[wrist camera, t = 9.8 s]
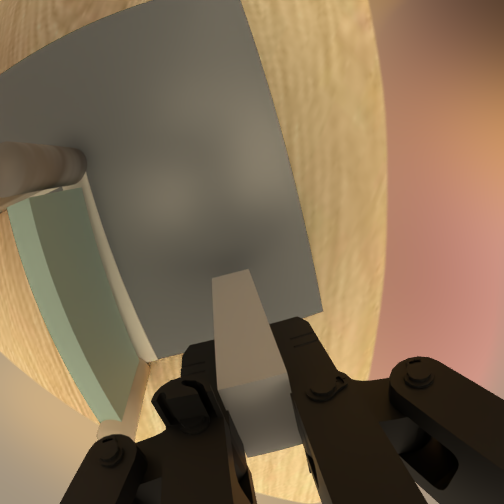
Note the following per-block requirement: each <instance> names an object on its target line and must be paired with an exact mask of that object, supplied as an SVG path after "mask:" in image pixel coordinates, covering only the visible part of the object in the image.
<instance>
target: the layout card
mask: <svg viewBox="0 0 504 504" xmlns="http://www.w3.org/2000/svg"><path fill="white" fill-rule="evenodd" d="M5 141H9V142H22V143H33V144H43V145H53V146H62V147H70V148H77V149H79V150H81V151H82V152H83V154H84V155H85V157H86V160H87V170H86V172H85V174H84V176H83V178H82V179H81V180H80V181H79V182H78V183H76V184H74V185H70V186H64V187H58V188H52V189H46V190H42V191H40V192H38V193H36V194H34V195H32V196H30V197H35V196H40V195H44V194H49V193H54V192H59V191H65V190H70V189H75V188H81V187H82V191H83V196H84V200H85V204H86V208H87V212H88V216H89V220H90V223H91V227H92V231H93V234H94V238H95V241H96V245H97V248H98V251H99V255H100V258H101V261H102V264H103V267H104V270H105V273H106V276H107V279H108V282H109V285H110V288H111V291H112V294H113V296H114V299H115V302H116V305H117V307H118V310H119V313H120V315H121V318H122V320H123V323H124V325H125V328H126V330H127V333H128V335H129V338H130V340H131V342H132V345H133V347H134V349H135V352H136V354H137V356H138V357H139V358H141V359H143V360H144V361H145V362H146V363H147V362H152V361H156V360H158V359H161V358H165V357H169V356H173V355H177V354H181V353H185V351H186V350H187V348H188V347H189V345H192V344H197V343H201V342H205V341H210V340H214V319H213V296H212V278H215V277H219V276H223V275H227V274H231V273H234V272H238V271H242V270H246V269H249V271H250V274H251V277H252V280H253V282H254V285H255V288H256V290H257V293H258V296H259V298H260V301H261V304H262V307H263V309H264V312H265V315H266V317H267V320H268V323H269V324H272V323H275V322H279V321H282V320H286V319H289V318H293V317H296V316H298V317H300V318H305V317H308V316H311V315H314V314H316V313H319V312H322V311H323V309H322V303H321V298H320V293H319V288H318V283H317V278H316V273H315V268H314V264H313V259H312V254H311V250H310V245H309V241H308V236H307V232H306V227H305V223H304V218H303V214H302V210H301V206H300V202H299V197H298V193H297V189H296V185H295V181H294V177H293V173H292V169H291V165H290V162H289V158H288V154H287V150H286V146H285V143H284V139H283V135H282V132H281V128H280V124H279V121H278V117H277V114H276V110H275V107H274V103H273V100H272V97H271V93H270V90H269V87H268V83H267V80H266V77H265V73H264V70H263V67H262V64H261V61H260V57H259V54H258V51H257V48H256V45H255V42H254V39H253V36H252V33H251V30H250V27H249V24H248V21H247V18H246V15H245V12H244V10H243V7H242V4H241V1H240V0H152V1H149V2H146V3H142V4H139V5H136V6H134V7H131V8H128V9H125V10H122V11H120V12H117V13H115V14H112V15H109V16H107V17H105V18H102V19H100V20H97V21H95V22H93V23H91V24H88V25H86V26H84V27H82V28H80V29H77V30H75V31H73V32H71V33H69V34H67V35H65V36H63V37H61V38H60V39H58V40H56V41H54V42H52V43H50V44H48V45H47V46H45V47H43V48H41V49H40V50H38V51H36V52H34V53H33V54H31V55H30V56H28V57H26V58H25V59H23V60H21V61H20V62H18V63H17V64H15V65H14V66H12V67H11V68H9V69H8V70H6V71H5V72H3V73H2V74H1V75H0V143H2V142H5ZM30 197H28V198H30Z"/></svg>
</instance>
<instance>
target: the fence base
mask: <svg viewBox="0 0 504 504" xmlns="http://www.w3.org/2000/svg"><path fill="white" fill-rule="evenodd" d="M86 170H87V160H86V157H85V155H84V154H83V152H82V151H81V150H79V149H77V148H70V147H62V146H53V145H43V144H33V143H22V142H9V141H5V142H2V143H0V213H1V212H3V211H4V210H6V209H7V207H9V206H11V205H13V204H16V203H18V202H20V201H22V200H25V199H27V198H28V197H30V196H32V195H34V194H36V193H38V192H40V191H42V190H46V189H52V188H58V187H64V186H70V185H74V184H76V183H78V182H79V181H80V180H81V179H82V178H83V176H84V174H85V172H86Z"/></svg>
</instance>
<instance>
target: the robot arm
mask: <svg viewBox="0 0 504 504" xmlns="http://www.w3.org/2000/svg"><path fill="white" fill-rule="evenodd" d="M212 296H213V319H214V340H210V341H205V342H201V343H197V344H192V345H189V347H188V348H187V350H186V351H185V353H184V354H183V356H182V368H181V377H180V378H177V379H174V380H171V381H169V382H168V383H166V384H164V385H163V386H161V387H160V388H159V389H158V390H157V391H156V392H155V394H154V396H153V398H152V400H151V402H152V404H153V406H154V407H155V409H156V411H157V413H158V414H159V416H160V417H161V419H162V421H163V422H164V424H165V426H166V430H165V431H163V432H162V433H160V434H158V435H156V436H154V437H151V438H148V439H146V440H143V441H140V442H138V443H135V442H134V441H133V440H132V439H131V438H130V437H129V436H126V435H123V434H111V435H108V436H105V437H103V438H101V439H100V440H98V441H97V442H95V443H94V445H93V446H92V447H91V448H90V449H89V451H88V453H87V455H86V456H85V458H84V460H83V462H82V463H81V466H80V467H79V469H78V471H77V473H76V474H75V476H74V478H73V480H72V482H71V483H70V485H69V487H68V489H67V491H66V493H65V495H64V497H63V498H62V500H61V502H60V504H257V501H256V496H255V491H254V485H253V480H252V474H251V472H250V470H249V468H248V466H247V463H246V457H245V453H246V455H247V457H253V456H257V455H262V454H266V453H270V452H274V451H278V450H282V449H286V448H289V447H293V446H296V445H300V444H303V446H304V448H305V452H306V457H307V462H308V467H309V471H310V473H312V476H313V479H314V481H315V484H316V487H317V490H318V493H319V496H320V499H321V502H322V504H428V503H427V502H426V500H425V498H424V496H423V495H422V493H421V491H420V490H419V488H418V486H417V485H416V483H417V484H418V485H419V486H420V487H421V488H423V489H424V490H425V491H426V492H427V493H428V494H430V496H432V497H433V498H434V499H435V500H436V501H437V502H438V503H439V504H504V400H503V399H501V398H500V397H498V396H496V395H494V394H493V393H491V392H490V391H488V390H486V389H484V388H483V387H481V386H479V385H478V384H476V383H474V382H473V381H471V380H469V379H468V378H466V377H464V376H462V375H461V374H459V373H458V372H456V371H454V370H452V369H451V368H449V367H447V366H446V365H444V364H442V363H441V362H439V361H437V360H434V359H432V358H429V357H413V358H408V359H406V360H403V361H401V362H399V363H398V364H397V365H396V366H395V367H394V368H393V369H392V372H391V374H390V377H389V378H386V379H379V380H372V381H358V380H353V379H351V378H350V377H349V376H348V375H346V374H345V373H342V372H340V371H338V370H337V369H336V367H335V365H334V364H333V362H332V360H331V359H330V357H329V355H328V354H327V352H326V350H325V349H324V347H323V346H322V344H321V342H320V341H319V339H318V337H317V336H316V334H315V333H314V331H313V329H312V327H311V326H310V324H309V322H307V321H305V320H303V319H302V318H300V317H298V316H296V317H293V318H289V319H286V320H282V321H279V322H275V323H272V324H269V323H268V320H267V317H266V315H265V312H264V309H263V307H262V304H261V301H260V298H259V296H258V293H257V290H256V288H255V285H254V282H253V280H252V277H251V274H250V271H249V269H246V270H242V271H238V272H234V273H231V274H227V275H223V276H219V277H215V278H212ZM415 482H416V483H415Z"/></svg>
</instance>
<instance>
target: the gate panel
mask: <svg viewBox="0 0 504 504" xmlns="http://www.w3.org/2000/svg"><path fill="white" fill-rule="evenodd" d="M7 211H8V215H9V219H10V223H11V227H12V231H13V234H14V238H15V242H16V245H17V248H18V252H19V255H20V258H21V261H22V264H23V267H24V270H25V273H26V276H27V279H28V282H29V284H30V287H31V290H32V292H33V295H34V298H35V300H36V303H37V305H38V308H39V310H40V312H41V315H42V317H43V319H44V322H45V324H46V326H47V328H48V331H49V333H50V335H51V337H52V339H53V341H54V343H55V346H56V348H57V350H58V352H59V354H60V356H61V358H62V359H63V361H64V363H65V365H66V367H67V369H68V371H69V373H70V374H71V376H72V378H73V380H74V382H75V383H76V385H77V387H78V389H79V390H80V392H81V394H82V395H83V397H84V399H85V400H86V402H87V404H88V405H89V407H90V408H91V410H92V411H93V413H94V415H95V416H96V418H97V419H98V421H99V422H100V426H99V429H98V432H97V439H98V440H100V439H101V438H103V437H105V436H108V435H111V434H123V435H126V436H129V437H130V438H131V439H132V440H133V441H135V436H136V431H137V427H138V422H139V417H140V412H141V408H142V403H143V399H144V394H145V390H146V386H147V381H148V377H149V373H150V368H149V366H148V364H147V363H146V362H145V361H144V360H143V359H141V358H139V357H138V356H137V354H136V352H135V349H134V347H133V345H132V342H131V340H130V338H129V335H128V333H127V330H126V328H125V325H124V323H123V320H122V318H121V315H120V313H119V310H118V307H117V305H116V302H115V299H114V296H113V294H112V291H111V288H110V285H109V282H108V279H107V276H106V273H105V270H104V267H103V264H102V261H101V258H100V255H99V251H98V248H97V245H96V241H95V238H94V234H93V231H92V227H91V223H90V220H89V216H88V212H87V208H86V204H85V200H84V196H83V191H82V187H81V188H75V189H70V190H65V191H59V192H54V193H49V194H44V195H40V196H35V197H30V198H27V199H25V200H22V201H20V202H18V203H16V204H13V205H11V206H9V207H7Z"/></svg>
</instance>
